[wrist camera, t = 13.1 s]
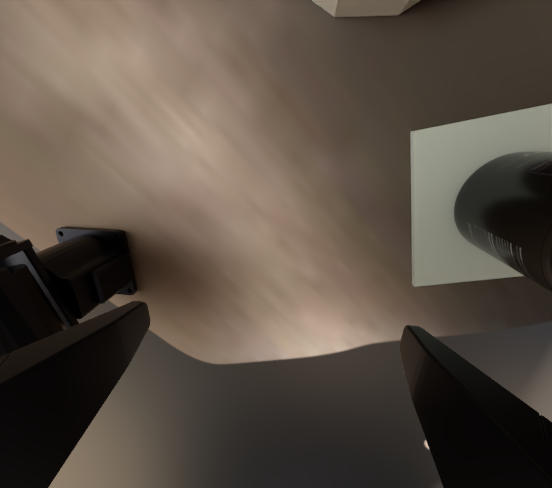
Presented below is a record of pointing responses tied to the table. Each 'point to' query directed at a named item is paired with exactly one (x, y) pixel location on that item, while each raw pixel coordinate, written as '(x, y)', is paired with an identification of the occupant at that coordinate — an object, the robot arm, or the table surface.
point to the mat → (448, 181)
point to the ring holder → (365, 7)
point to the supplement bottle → (511, 212)
